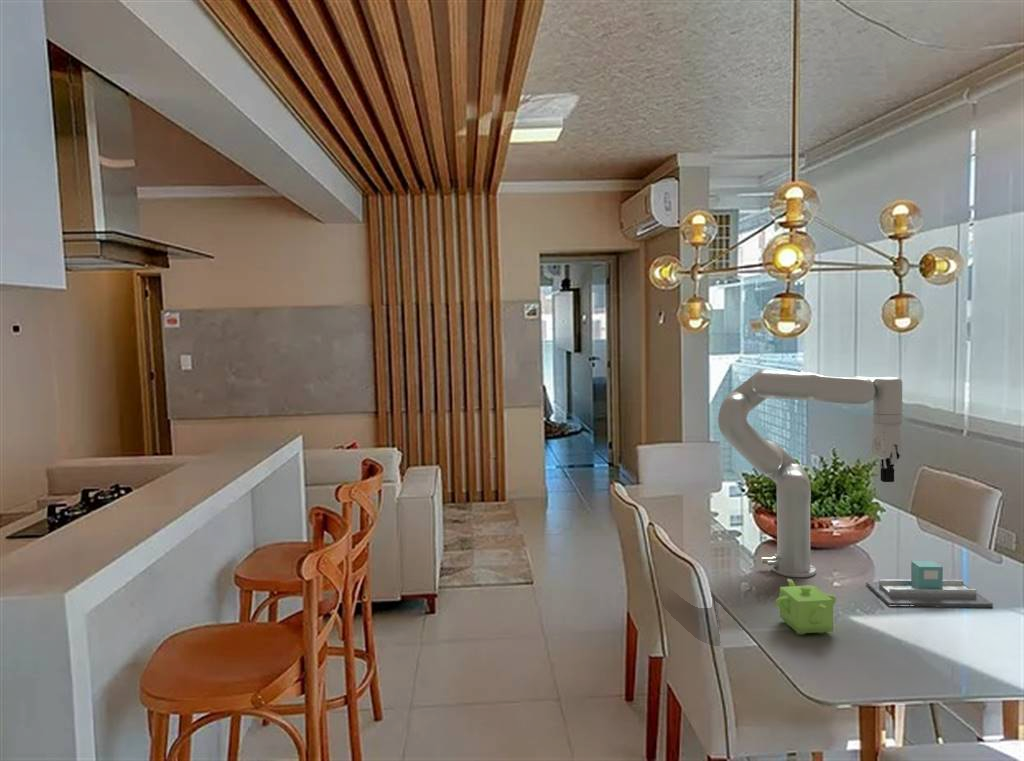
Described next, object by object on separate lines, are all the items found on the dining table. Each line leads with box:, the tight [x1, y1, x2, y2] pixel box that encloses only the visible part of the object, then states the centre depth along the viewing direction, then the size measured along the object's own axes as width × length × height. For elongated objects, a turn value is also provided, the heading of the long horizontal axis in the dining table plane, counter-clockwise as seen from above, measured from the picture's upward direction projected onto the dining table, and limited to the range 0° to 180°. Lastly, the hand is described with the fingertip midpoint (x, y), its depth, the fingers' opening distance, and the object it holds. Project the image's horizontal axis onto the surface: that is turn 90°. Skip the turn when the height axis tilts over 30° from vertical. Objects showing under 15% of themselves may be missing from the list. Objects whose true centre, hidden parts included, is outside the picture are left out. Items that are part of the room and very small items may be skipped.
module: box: [910, 560, 944, 589], centre depth 199 cm, size 6×5×7 cm
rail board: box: [865, 578, 994, 608], centre depth 200 cm, size 26×16×3 cm, turn 84°
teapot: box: [775, 578, 837, 636], centre depth 181 cm, size 20×15×11 cm
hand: (887, 481), depth 212 cm, fingers closed
